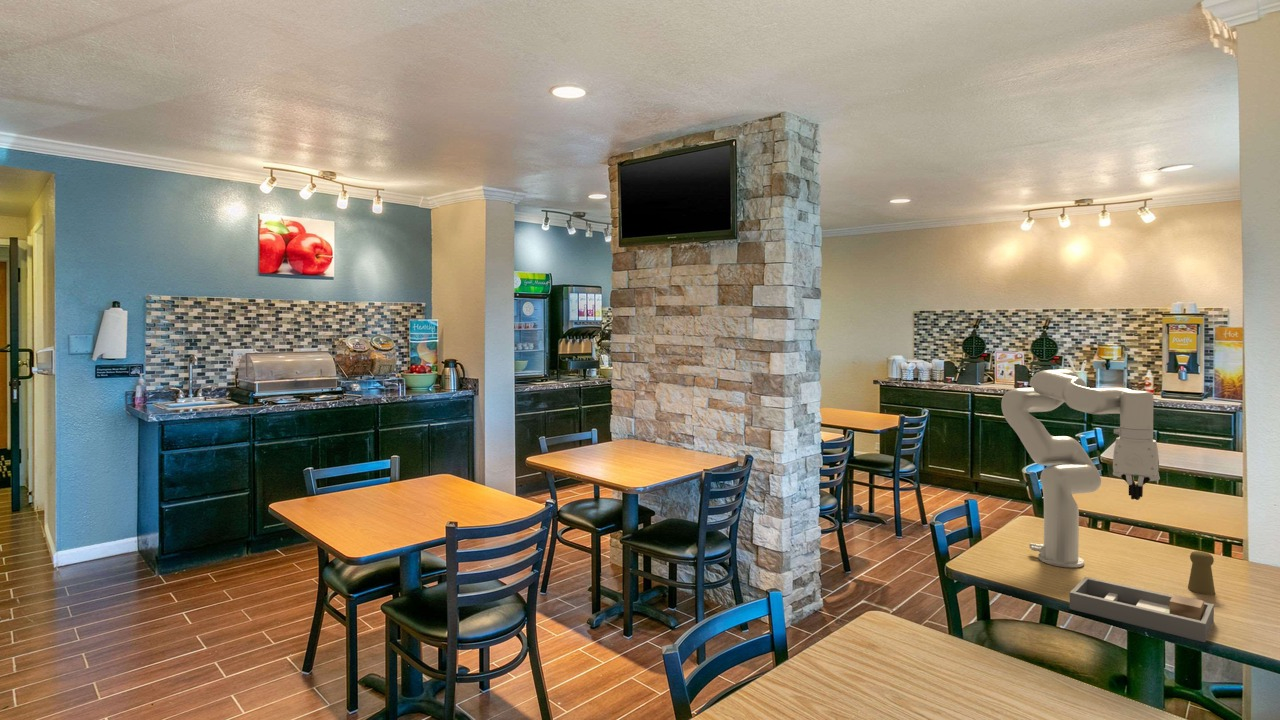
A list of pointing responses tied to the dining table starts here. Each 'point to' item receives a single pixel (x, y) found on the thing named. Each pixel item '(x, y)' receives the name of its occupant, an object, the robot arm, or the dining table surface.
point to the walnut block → (1186, 607)
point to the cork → (1201, 573)
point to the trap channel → (1138, 608)
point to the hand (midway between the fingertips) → (1135, 498)
